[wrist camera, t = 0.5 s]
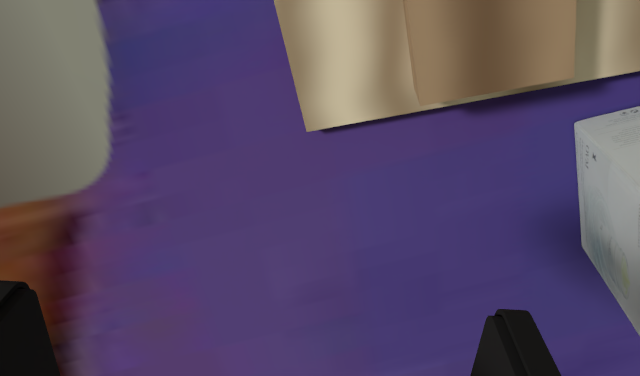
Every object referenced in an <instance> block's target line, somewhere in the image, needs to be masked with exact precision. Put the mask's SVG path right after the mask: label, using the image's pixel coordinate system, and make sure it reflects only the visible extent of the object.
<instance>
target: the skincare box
mask: <svg viewBox="0 0 640 376" xmlns="http://www.w3.org/2000/svg"><path fill="white" fill-rule="evenodd" d="M574 128H575V144H576V160H577V176H578V192H579V207H580V224H581V243H582V248H583V249H584V250H585V252H586V253H587V255H588V257H589V258H590V260H591V261H592V263H593V264H594V266H595V267H596V269H597V270H598V272H599V274H600V275H601V277H602V278H603V280H604V281H605V283H606V284H607V286H608V287H609V289H610V290H611V292H612V294H613V295H614V297H615V298H616V300H617V301H618V303H619V305H620V306H621V308H622V309H623V311H624V312H625V314H626V315H627V317H628V319H629V320H630V322H631V323H632V325H633V326H634V328H635V329H636V331H637V333H638V334H639V336H640V106H638V107H634V108H630V109H626V110H621V111H617V112H613V113H609V114H604V115H600V116H596V117H593V118H588V119H584V120H581V121H577V122H575V124H574Z"/></svg>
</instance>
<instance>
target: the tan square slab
mask: <svg viewBox="0 0 640 376" xmlns="http://www.w3.org/2000/svg"><path fill="white" fill-rule="evenodd" d="M576 2H577V0H403V6H404V14H405V22H406V30H407V37H408V45H409V53H410V61H411V68H412V76H413V84H414V90H415V92H416V95H417V98H418V101H419V104H420V106H424V105H430V104H435V103H441V102H446V101H451V100H457V99H462V98H468V97H473V96H478V95H484V94H489V93H495V92H500V91H506V90H511V89H516V88H522V87H527V86H533V85H538V84H544V83H549V82H554V81H560V80H565V79H571V78H574V62H575V32H576Z"/></svg>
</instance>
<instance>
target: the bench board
mask: <svg viewBox="0 0 640 376" xmlns="http://www.w3.org/2000/svg"><path fill="white" fill-rule="evenodd" d="M274 3H275V7H276V11H277V15H278V19H279V23H280V27H281V31H282V35H283V39H284V43H285V47H286V51H287V55H288V59H289V63H290V67H291V71H292V75H293V79H294V83H295V87H296V91H297V95H298V99H299V103H300V107H301V111H302V115H303V119H304V123H305V127H306V131H307V132H309V131H315V130H320V129H325V128H331V127H336V126H342V125H347V124H353V123H358V122H364V121H369V120H375V119H380V118H386V117H391V116H397V115H402V114H407V113H413V112H418V111H424V110H429V109H435V108H440V107H446V106H451V105H457V104H462V103H468V102H473V101H479V100H484V99H489V98H495V97H500V96H506V95H511V94H517V93H522V92H528V91H533V90H539V89H544V88H550V87H555V86H561V85H566V84H571V83H577V82H582V81H588V80H593V79H599V78H604V77H610V76H615V75H621V74H626V73H632V72H637V71H640V0H577V2H576V32H575V62H574V78H571V79H565V80H560V81H554V82H549V83H544V84H538V85H533V86H527V87H522V88H516V89H511V90H506V91H500V92H495V93H489V94H484V95H478V96H473V97H468V98H462V99H457V100H451V101H446V102H441V103H435V104H430V105H424V106H420V104H419V101H418V98H417V95H416V92H415V90H414V84H413V76H412V68H411V61H410V53H409V45H408V37H407V30H406V22H405V14H404V6H403V0H274Z"/></svg>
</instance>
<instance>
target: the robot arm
mask: <svg viewBox="0 0 640 376" xmlns="http://www.w3.org/2000/svg"><path fill="white" fill-rule="evenodd" d="M0 376H60V373H59V369H58V366H57V363H56V359H55V356H54V352H53V349H52V345H51V342H50V338H49V335H48V332H47V328H46V325H45V321H44V318H43V314H42V311H41V308H40V304H39V301H38V297H37V294H36V292H35V291H34V290H31V289H30V288H29V286H28V285H27V284H26V283H25V282H18V281H1V280H0ZM471 376H561V374H560V372H559V370H558V368H557V366H556V364H555V362H554V360H553V358H552V356H551V354H550V352H549V350H548V348H547V346H546V344H545V342H544V340H543V338H542V336H541V334H540V332H539V330H538V328H537V326H536V324H535V322H534V320H533V318H532V316H531V315H530V313H529V312H528V311H525V310H508V309H498V310H497V311H496V313H495V315H494V316H488V317H487V319H486V322H485V325H484V329H483V332H482V336H481V340H480V343H479V347H478V350H477V354H476V358H475V361H474V365H473V368H472V372H471Z"/></svg>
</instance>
